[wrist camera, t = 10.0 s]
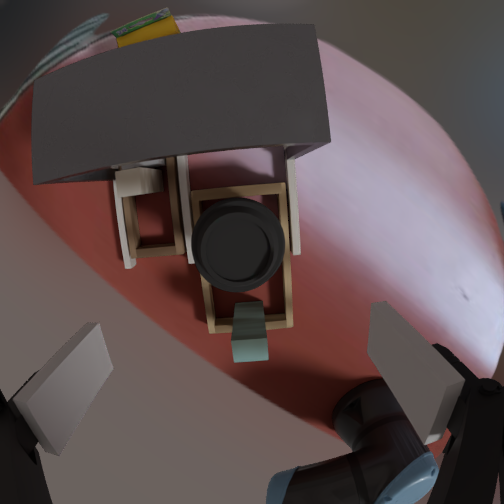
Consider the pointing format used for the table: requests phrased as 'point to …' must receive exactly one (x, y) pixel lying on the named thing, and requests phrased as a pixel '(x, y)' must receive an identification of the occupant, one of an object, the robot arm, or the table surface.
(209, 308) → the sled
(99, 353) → the robot arm
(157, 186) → the sled
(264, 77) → the shelf
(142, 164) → the grey block
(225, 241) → the coffee cup
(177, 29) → the crayon box
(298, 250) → the lane rails
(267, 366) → the table surface
